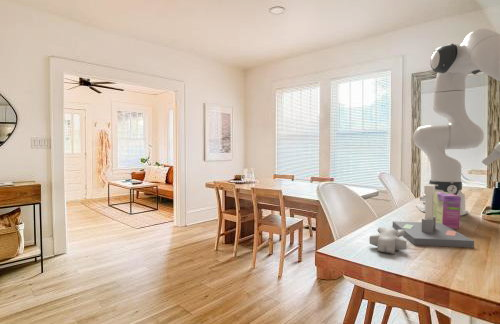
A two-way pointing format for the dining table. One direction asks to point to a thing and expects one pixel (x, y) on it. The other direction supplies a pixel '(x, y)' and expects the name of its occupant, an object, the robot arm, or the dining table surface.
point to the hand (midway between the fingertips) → (483, 163)
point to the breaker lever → (429, 201)
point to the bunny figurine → (388, 240)
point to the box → (447, 209)
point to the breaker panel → (432, 234)
